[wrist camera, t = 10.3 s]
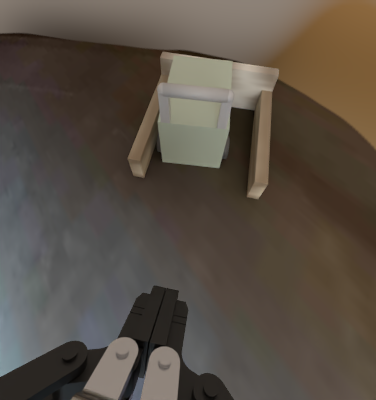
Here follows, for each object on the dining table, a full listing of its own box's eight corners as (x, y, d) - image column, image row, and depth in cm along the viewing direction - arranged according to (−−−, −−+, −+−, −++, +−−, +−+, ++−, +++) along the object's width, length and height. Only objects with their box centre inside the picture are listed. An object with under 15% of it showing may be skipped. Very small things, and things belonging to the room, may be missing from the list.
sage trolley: (157, 162, 25) (145, 86, 17) (170, 101, 30) (166, 17, 21) (224, 170, 25) (246, 96, 17) (227, 107, 30) (246, 24, 21)
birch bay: (133, 175, 24) (122, 144, 20) (165, 90, 31) (162, 51, 26) (258, 199, 23) (276, 171, 19) (264, 105, 30) (278, 68, 25)
